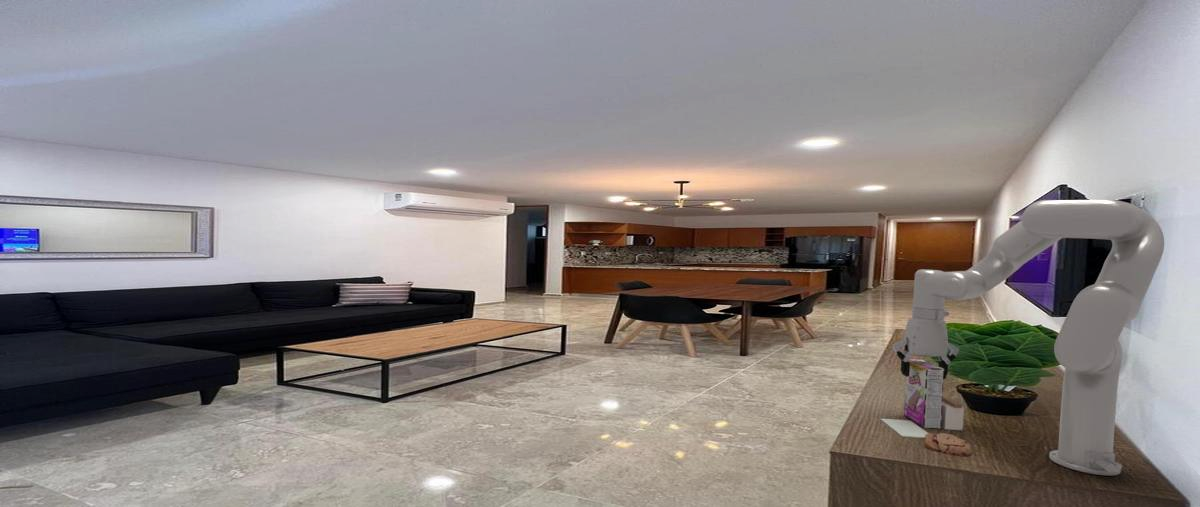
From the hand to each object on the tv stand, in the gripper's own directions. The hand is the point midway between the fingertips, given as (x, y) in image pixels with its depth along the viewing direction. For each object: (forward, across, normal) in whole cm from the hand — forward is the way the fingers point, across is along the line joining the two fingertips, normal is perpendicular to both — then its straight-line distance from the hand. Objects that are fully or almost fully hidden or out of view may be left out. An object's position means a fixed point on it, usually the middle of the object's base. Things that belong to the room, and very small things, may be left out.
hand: (923, 376), depth 162 cm
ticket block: (+13, -6, -1) cm, 14 cm away
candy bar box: (+13, 0, 0) cm, 13 cm away
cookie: (+13, +3, +20) cm, 24 cm away
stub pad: (+13, +7, +7) cm, 16 cm away
